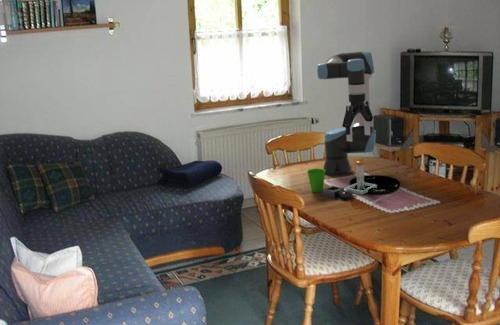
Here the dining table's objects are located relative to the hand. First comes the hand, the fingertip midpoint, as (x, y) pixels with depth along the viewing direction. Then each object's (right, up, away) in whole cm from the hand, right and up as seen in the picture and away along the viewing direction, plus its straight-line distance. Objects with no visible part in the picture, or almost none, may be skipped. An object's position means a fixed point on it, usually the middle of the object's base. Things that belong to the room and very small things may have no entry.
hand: (358, 138), depth 279 cm
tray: (+2, -25, +7) cm, 26 cm away
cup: (-18, -26, +11) cm, 34 cm away
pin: (+2, -25, +6) cm, 26 cm away
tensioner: (-9, -28, +1) cm, 30 cm away
